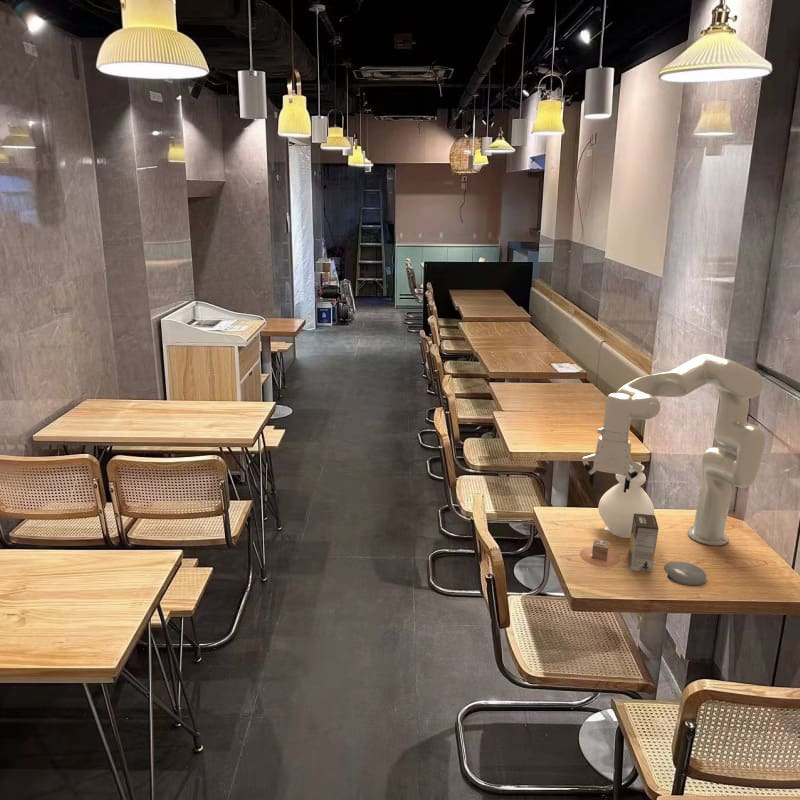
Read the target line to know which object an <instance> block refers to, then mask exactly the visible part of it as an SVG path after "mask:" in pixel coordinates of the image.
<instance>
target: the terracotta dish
mask: <svg viewBox="0 0 800 800" xmlns="http://www.w3.org/2000/svg"><path fill="white" fill-rule="evenodd" d="M592 550H593V546H588V547H584V548H583V549H581V550H580V551H579V556H580V557H581V559H582V560H584V561H585V562H587V563H588V564H591V565H594V566H598V567H614V566H616V565H618V564H619V563H620V557H619V555H618V554H617V553H615V552H614V551H612V550H609V549H608V554H607V561H603V560H598V559H593V558H592Z"/></svg>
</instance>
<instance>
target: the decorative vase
mask: <svg viewBox="0 0 800 800" xmlns="http://www.w3.org/2000/svg"><path fill="white" fill-rule="evenodd" d="M636 463H637V464H639V465H640V466H642V470H641V471H640V472H639V473H638V475H637V476H636V477H634V478H633V479H631V480H630V485H629V489H626V493H624V485H625V478H626V477H625V475H620V474H615V479H616V480H617V481H618V483H617V484H615V485H613V486H612V487H610V488H609V489H608V490H607V491H606V492H605V493H603V495H602V496H601V498H600V500H599V503H598V509H597V510H598V513H599V516H600V518H601V519H602V521H603V523H604V524H605V525H606V526H604V528H603V530H607V531H609V532H610V533H611V534H612V535H614V536H617V537H620V538H625V539H629V538H631V531H632V524H633V517H634V513H635V514H646V515H655V507H654V504H653V502H652V500H651V498H650V496H649V495H648V494H647V493H646V491H645V490H644V489H643V488H642V487H641V486H642V485H644V484H645V483H646V480H647V478H646V475H645V473H644V471H645V466H644V465H643V464H641V463H639V462H636ZM635 469H636V468H634V467H633V466H631V465H630V466H629V472H630V473H632V472H633V471H635Z"/></svg>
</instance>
